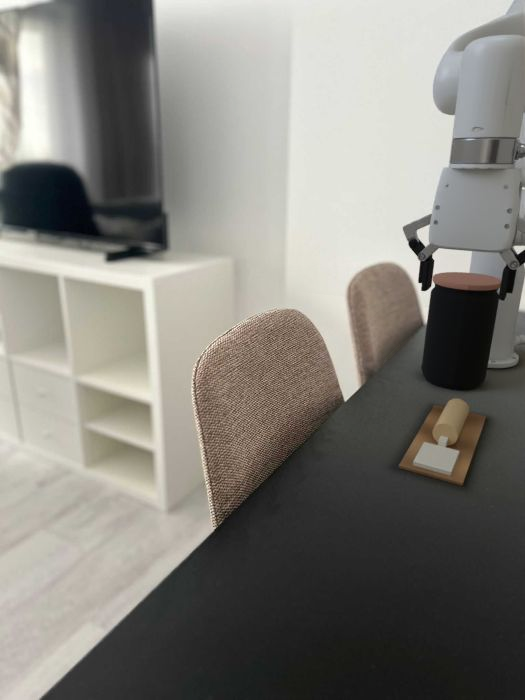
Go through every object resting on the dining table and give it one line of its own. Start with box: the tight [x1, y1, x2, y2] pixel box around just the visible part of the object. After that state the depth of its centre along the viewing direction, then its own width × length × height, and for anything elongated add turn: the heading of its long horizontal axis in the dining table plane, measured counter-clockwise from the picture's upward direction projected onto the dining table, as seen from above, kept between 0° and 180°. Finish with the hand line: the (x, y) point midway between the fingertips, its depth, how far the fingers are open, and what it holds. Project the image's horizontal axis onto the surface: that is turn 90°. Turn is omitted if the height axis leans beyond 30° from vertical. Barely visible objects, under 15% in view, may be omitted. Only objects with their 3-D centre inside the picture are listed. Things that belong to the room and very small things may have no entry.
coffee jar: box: [420, 271, 501, 391], centre depth 87 cm, size 11×11×18 cm
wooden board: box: [398, 404, 487, 487], centre depth 69 cm, size 20×8×1 cm, turn 150°
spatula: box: [413, 398, 470, 476], centre depth 68 cm, size 16×4×3 cm, turn 150°
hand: (463, 293), depth 68 cm, fingers open, 9 cm apart
